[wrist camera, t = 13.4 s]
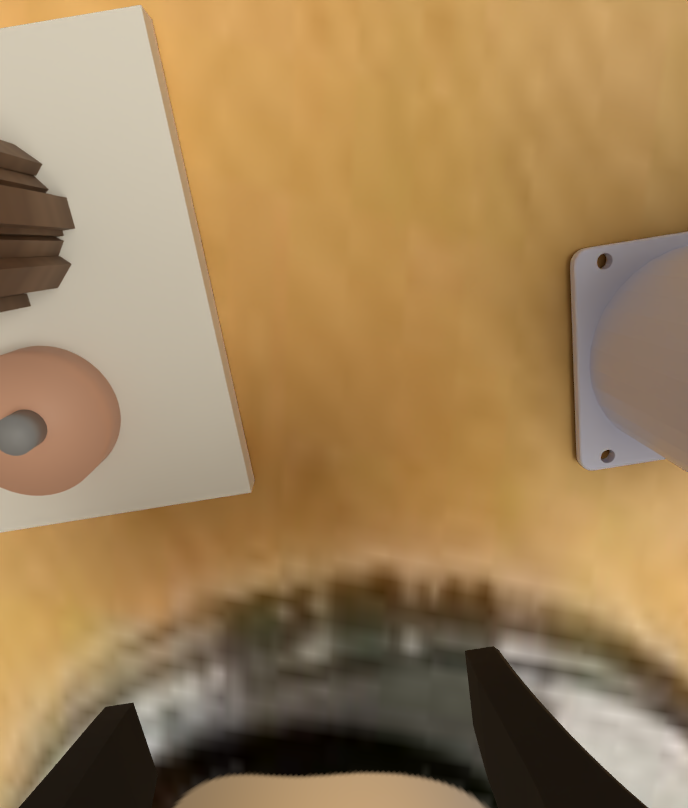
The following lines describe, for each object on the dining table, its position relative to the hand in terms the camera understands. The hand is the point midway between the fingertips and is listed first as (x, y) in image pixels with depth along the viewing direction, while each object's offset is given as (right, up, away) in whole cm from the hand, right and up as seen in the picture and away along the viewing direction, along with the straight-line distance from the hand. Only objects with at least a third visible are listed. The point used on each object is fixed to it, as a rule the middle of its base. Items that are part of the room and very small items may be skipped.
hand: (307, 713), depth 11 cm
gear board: (-10, +10, +7) cm, 15 cm away
